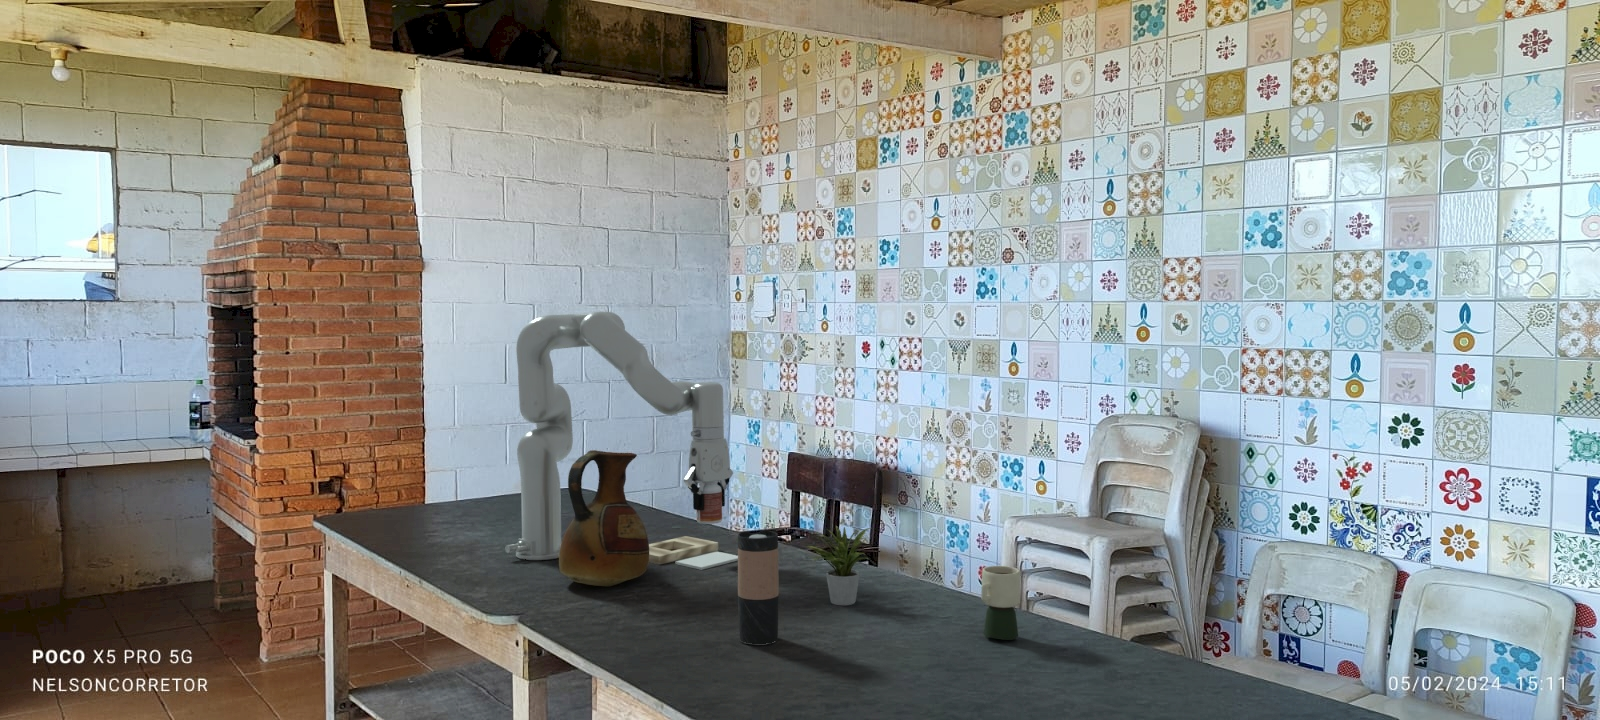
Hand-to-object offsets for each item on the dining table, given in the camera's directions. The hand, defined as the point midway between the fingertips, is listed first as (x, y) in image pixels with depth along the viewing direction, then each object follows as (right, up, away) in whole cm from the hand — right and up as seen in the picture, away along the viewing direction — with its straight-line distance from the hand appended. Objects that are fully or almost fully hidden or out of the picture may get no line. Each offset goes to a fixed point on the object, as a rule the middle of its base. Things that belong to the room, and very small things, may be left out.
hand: (709, 507), depth 273 cm
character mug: (+60, -17, -62) cm, 87 cm away
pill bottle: (0, -4, 0) cm, 4 cm away
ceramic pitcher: (-22, -15, -18) cm, 32 cm away
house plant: (+31, -15, -35) cm, 49 cm away
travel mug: (+14, -17, -62) cm, 66 cm away
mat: (0, -13, +1) cm, 13 cm away
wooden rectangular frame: (-10, -13, +9) cm, 19 cm away
